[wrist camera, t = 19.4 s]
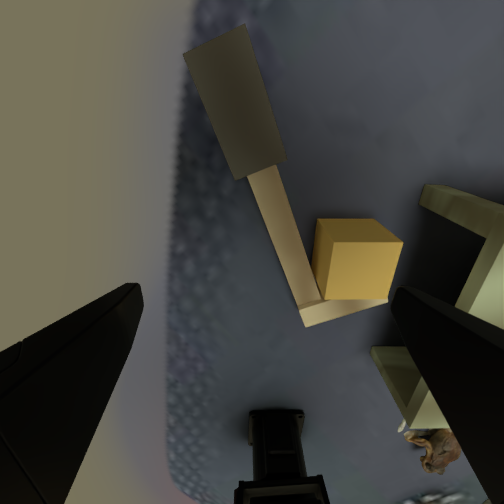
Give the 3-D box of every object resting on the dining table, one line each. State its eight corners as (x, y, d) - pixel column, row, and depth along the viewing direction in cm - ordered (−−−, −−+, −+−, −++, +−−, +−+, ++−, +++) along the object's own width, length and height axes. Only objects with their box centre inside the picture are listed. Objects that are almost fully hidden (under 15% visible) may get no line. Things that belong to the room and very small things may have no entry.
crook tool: (294, 310, 25) (306, 352, 21) (199, 70, 16) (182, 54, 12) (374, 284, 24) (404, 323, 19) (317, 14, 15) (347, -28, 11)
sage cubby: (471, 353, 28) (542, 427, 22) (369, 353, 28) (409, 428, 21) (565, 188, 20) (722, 224, 14) (424, 184, 20) (516, 219, 13)
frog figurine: (444, 454, 38) (464, 487, 35) (375, 437, 36) (389, 471, 32) (507, 408, 34) (537, 441, 30) (433, 384, 31) (457, 417, 28)
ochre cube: (362, 267, 23) (386, 299, 19) (310, 267, 23) (324, 299, 19) (373, 218, 21) (403, 242, 17) (316, 218, 21) (334, 242, 17)
